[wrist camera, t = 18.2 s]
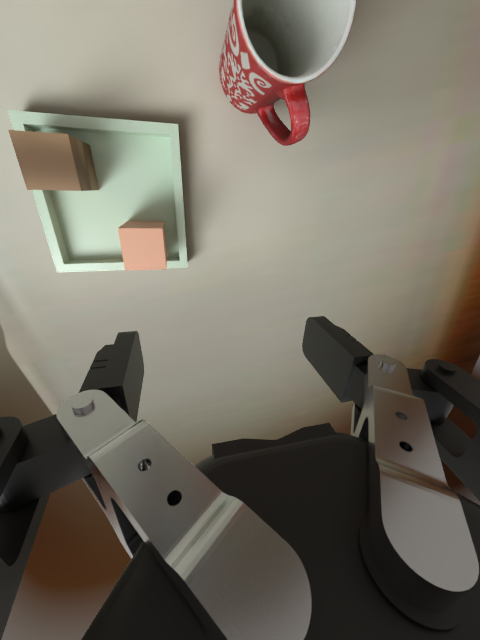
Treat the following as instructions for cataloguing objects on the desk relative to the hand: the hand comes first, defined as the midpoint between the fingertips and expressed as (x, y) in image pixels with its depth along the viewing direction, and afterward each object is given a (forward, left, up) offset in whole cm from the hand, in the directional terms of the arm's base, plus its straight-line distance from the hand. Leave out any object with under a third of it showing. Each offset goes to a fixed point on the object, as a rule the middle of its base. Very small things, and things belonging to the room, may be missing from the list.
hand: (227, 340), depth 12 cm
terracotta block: (0, -6, -27) cm, 28 cm away
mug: (-17, +8, -28) cm, 34 cm away
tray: (-5, -9, -28) cm, 30 cm away
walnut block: (-8, -13, -27) cm, 31 cm away
